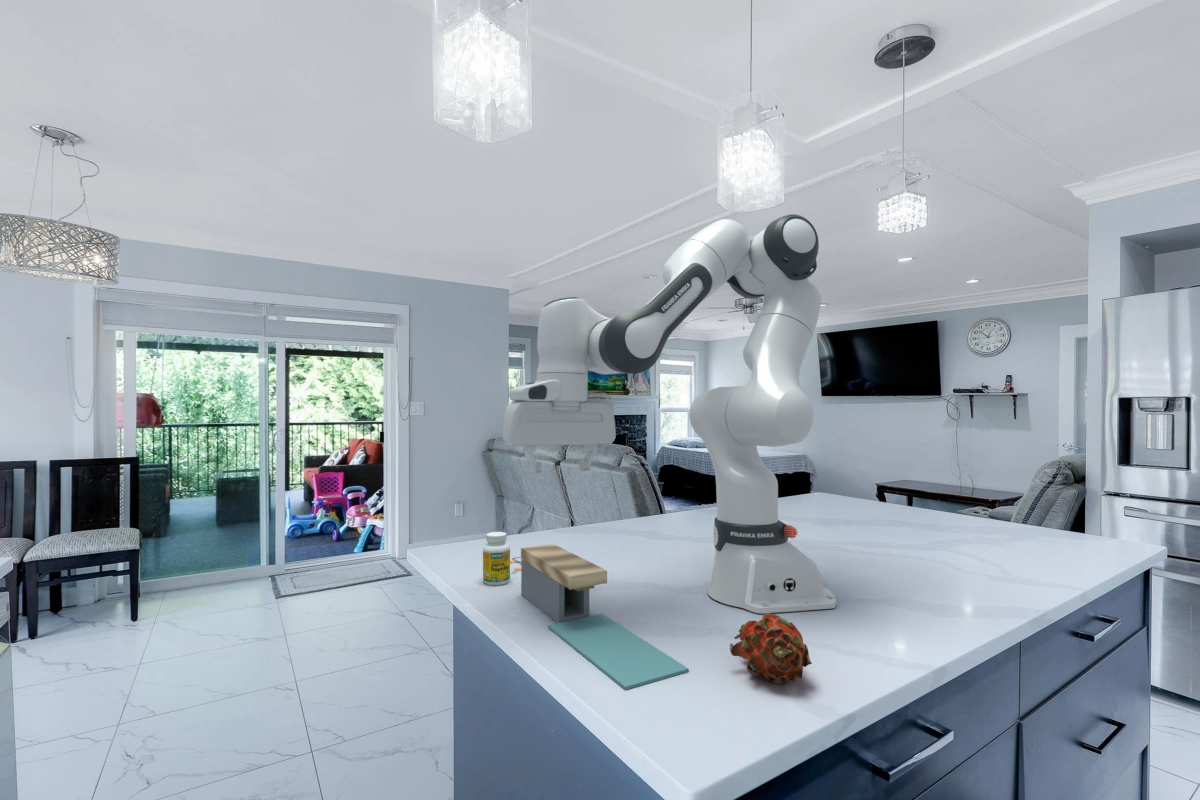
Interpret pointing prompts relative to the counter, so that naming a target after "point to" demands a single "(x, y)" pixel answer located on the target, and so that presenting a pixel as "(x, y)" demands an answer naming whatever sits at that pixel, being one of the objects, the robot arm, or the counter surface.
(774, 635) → the dragon fruit
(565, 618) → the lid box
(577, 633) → the teal mat
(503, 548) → the supplement bottle
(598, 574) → the oak lid
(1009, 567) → the counter surface
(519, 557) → the key chain
